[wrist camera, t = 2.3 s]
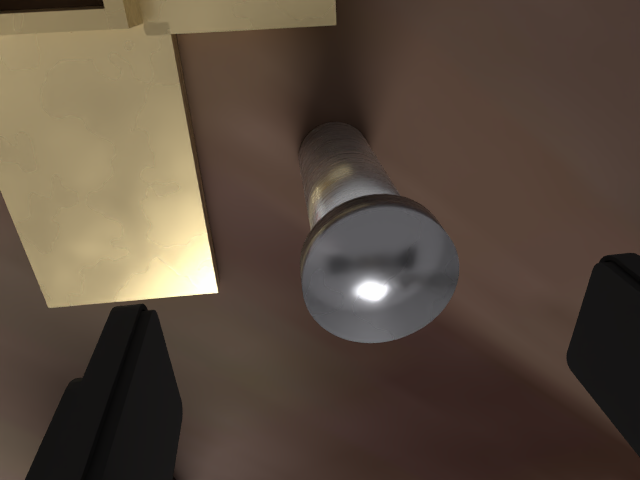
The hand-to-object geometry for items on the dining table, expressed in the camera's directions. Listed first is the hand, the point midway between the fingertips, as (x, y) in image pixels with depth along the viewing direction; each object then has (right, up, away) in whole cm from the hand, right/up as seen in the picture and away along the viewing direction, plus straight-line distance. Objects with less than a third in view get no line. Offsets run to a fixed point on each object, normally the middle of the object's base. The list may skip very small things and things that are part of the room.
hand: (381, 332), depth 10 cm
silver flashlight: (-1, +6, +11) cm, 12 cm away
